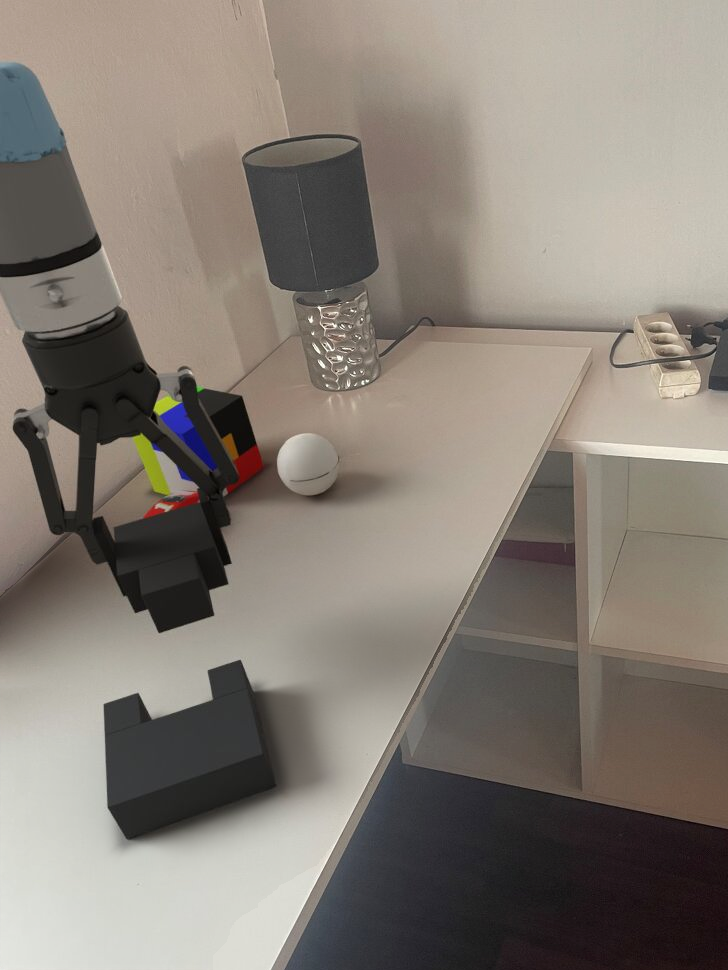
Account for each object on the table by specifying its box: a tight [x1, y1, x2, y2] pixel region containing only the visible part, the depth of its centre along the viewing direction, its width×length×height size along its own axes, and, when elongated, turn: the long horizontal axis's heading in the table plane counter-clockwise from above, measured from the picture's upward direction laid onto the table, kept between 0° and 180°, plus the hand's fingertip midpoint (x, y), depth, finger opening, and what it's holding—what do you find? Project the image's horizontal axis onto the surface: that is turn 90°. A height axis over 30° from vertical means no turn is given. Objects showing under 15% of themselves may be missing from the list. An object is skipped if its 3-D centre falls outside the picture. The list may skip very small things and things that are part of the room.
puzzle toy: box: [132, 386, 265, 498], centre depth 108 cm, size 10×10×10 cm
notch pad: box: [103, 659, 277, 840], centre depth 72 cm, size 12×12×4 cm
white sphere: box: [276, 432, 362, 496], centre depth 102 cm, size 10×7×7 cm
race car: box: [142, 491, 200, 519], centre depth 99 cm, size 13×5×4 cm, turn 162°
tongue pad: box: [113, 502, 230, 634], centre depth 73 cm, size 12×8×4 cm
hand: (176, 571), depth 76 cm, fingers closed on tongue pad, 8 cm apart
